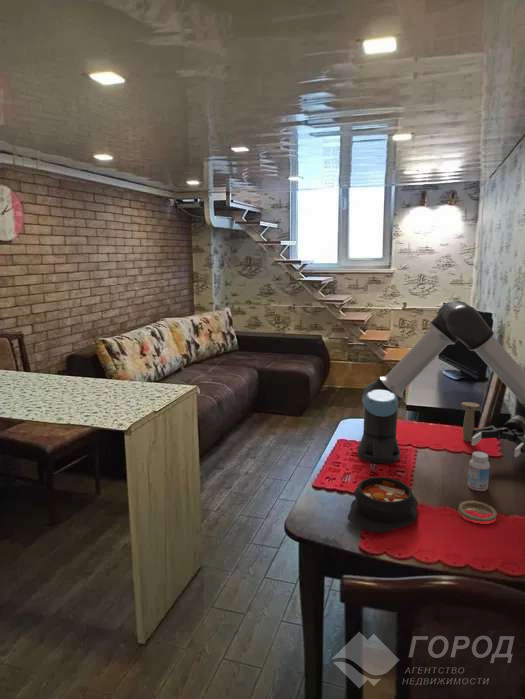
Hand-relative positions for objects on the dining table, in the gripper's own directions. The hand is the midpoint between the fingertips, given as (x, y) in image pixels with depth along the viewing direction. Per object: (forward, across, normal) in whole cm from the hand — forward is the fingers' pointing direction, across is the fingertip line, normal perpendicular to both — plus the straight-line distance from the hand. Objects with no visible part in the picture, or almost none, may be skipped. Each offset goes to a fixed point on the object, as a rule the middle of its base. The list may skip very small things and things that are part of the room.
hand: (493, 447), depth 161 cm
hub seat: (+26, -6, -10) cm, 29 cm away
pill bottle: (+10, 0, -11) cm, 15 cm away
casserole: (+45, +13, -10) cm, 48 cm away
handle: (-25, +18, -11) cm, 32 cm away
